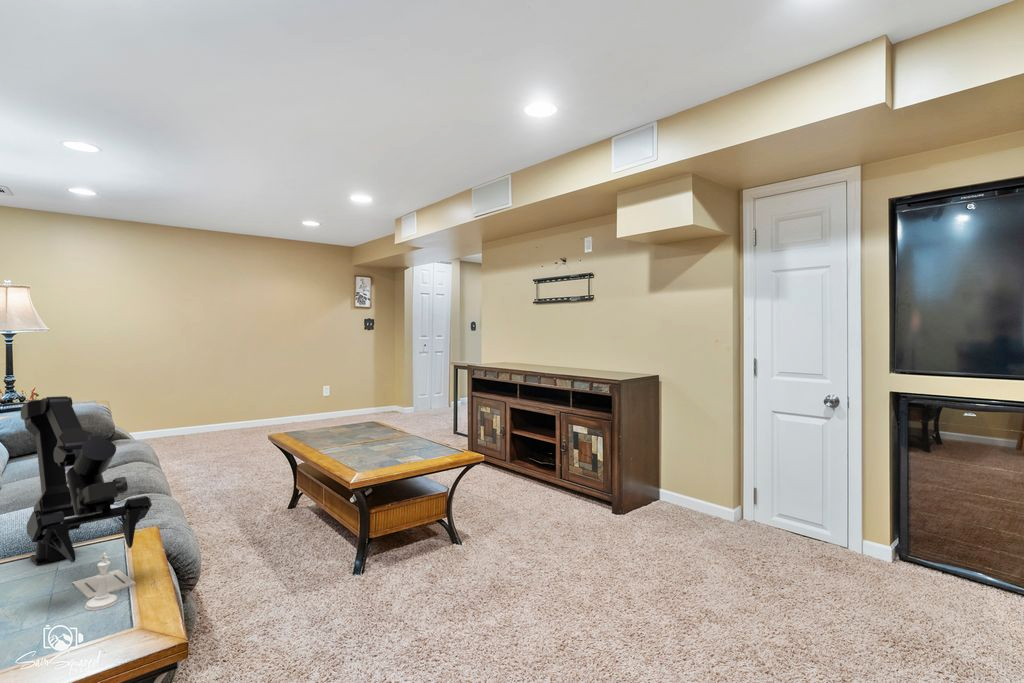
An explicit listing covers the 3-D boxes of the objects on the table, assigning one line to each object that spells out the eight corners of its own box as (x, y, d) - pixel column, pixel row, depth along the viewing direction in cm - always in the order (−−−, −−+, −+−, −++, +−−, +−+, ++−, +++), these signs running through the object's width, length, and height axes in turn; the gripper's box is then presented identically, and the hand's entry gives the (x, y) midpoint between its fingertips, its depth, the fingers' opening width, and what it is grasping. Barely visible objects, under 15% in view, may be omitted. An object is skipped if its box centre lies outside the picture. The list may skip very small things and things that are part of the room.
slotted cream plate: (72, 583, 106) (72, 581, 106) (118, 571, 112) (118, 569, 112) (88, 599, 100) (88, 597, 100) (135, 584, 107) (135, 582, 107)
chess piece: (99, 612, 96) (102, 559, 96) (78, 608, 97) (81, 556, 97) (123, 599, 100) (126, 550, 101) (103, 596, 101) (106, 547, 102)
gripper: (38, 474, 96) (51, 546, 89) (150, 459, 111) (169, 519, 105) (24, 506, 100) (36, 578, 94) (134, 488, 115) (152, 548, 109)
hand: (103, 553), depth 100 cm, fingers open, 9 cm apart
